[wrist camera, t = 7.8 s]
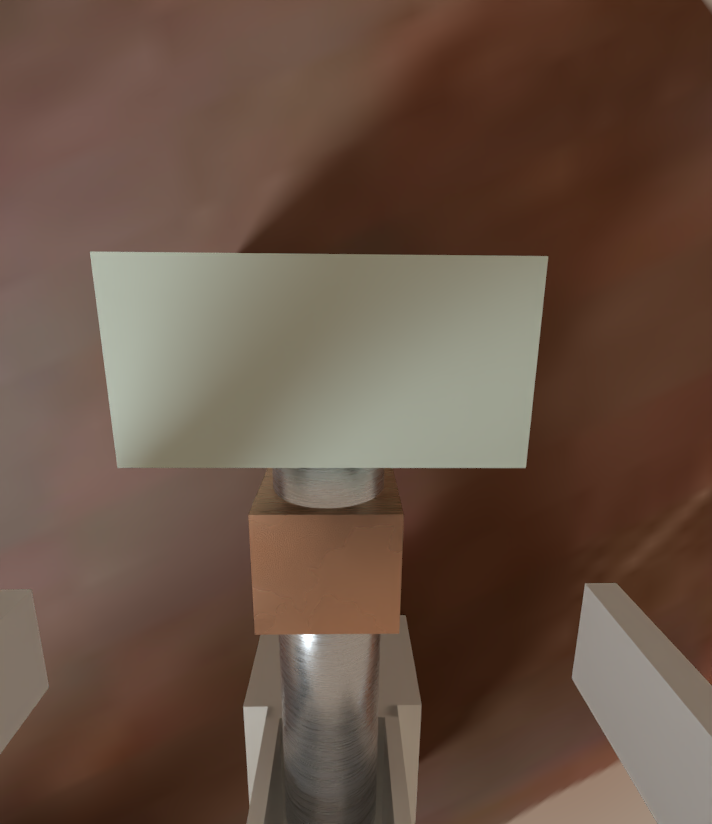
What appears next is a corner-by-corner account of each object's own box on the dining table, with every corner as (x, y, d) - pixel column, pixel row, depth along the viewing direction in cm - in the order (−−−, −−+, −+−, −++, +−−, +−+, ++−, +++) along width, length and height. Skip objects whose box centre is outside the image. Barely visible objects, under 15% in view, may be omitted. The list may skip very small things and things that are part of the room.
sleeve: (398, 777, 31) (430, 1069, 20) (272, 778, 31) (229, 1074, 19) (405, 615, 28) (447, 850, 16) (264, 615, 28) (207, 854, 16)
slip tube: (381, 754, 22) (390, 869, 18) (282, 755, 22) (267, 871, 17) (394, 323, 17) (410, 338, 13) (266, 322, 17) (238, 336, 12)
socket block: (435, 373, 24) (525, 467, 12) (233, 372, 24) (117, 467, 12) (440, 268, 23) (548, 256, 11) (227, 266, 23) (90, 251, 11)
